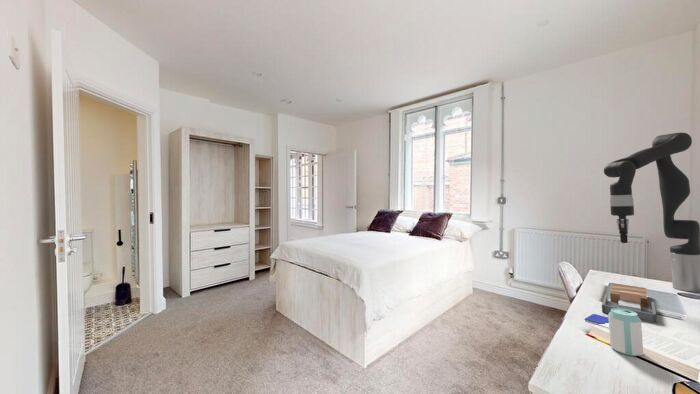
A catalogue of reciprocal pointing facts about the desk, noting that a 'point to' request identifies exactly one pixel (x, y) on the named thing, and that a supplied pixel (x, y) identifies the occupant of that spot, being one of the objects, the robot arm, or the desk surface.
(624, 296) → the tile
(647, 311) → the box
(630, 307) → the tile
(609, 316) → the can
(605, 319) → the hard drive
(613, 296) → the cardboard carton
